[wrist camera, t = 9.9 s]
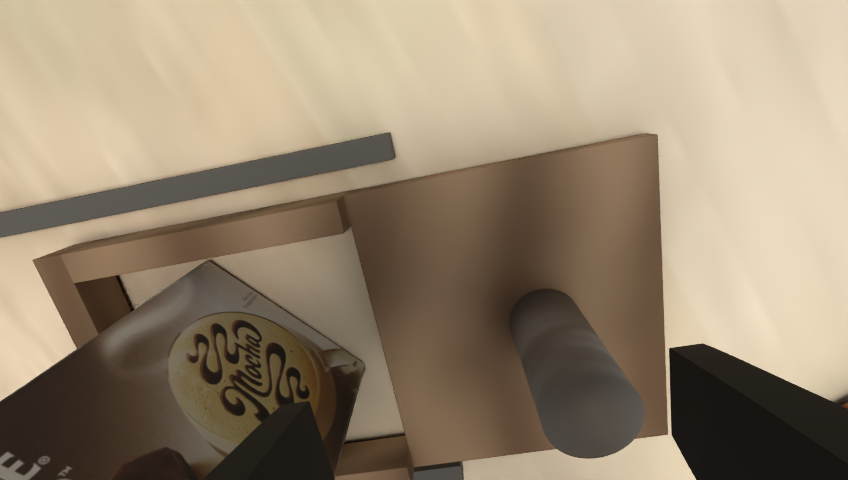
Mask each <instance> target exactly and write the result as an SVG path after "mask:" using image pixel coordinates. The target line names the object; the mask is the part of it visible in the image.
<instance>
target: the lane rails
mask: <svg viewBox="0 0 848 480" xmlns="http://www.w3.org/2000/svg"><path fill="white" fill-rule="evenodd" d="M394 158H395V152H394V148H393V143H392V139H391V134H390V133H385V134H380V135H375V136H370V137H366V138H361V139H356V140H351V141H346V142H341V143H337V144H332V145H327V146H322V147H317V148H312V149H307V150H303V151H298V152H293V153H288V154H283V155H278V156H273V157H269V158H264V159H259V160H254V161H249V162H244V163H239V164H235V165H230V166H225V167H220V168H215V169H210V170H205V171H201V172H196V173H191V174H186V175H181V176H176V177H172V178H167V179H162V180H157V181H152V182H147V183H142V184H138V185H133V186H128V187H123V188H118V189H113V190H108V191H104V192H99V193H94V194H89V195H84V196H79V197H74V198H70V199H65V200H60V201H55V202H50V203H45V204H40V205H36V206H31V207H26V208H21V209H16V210H11V211H7V212H2V213H0V238H1V237H6V236H11V235H16V234H21V233H26V232H31V231H36V230H41V229H46V228H51V227H56V226H61V225H66V224H71V223H76V222H81V221H86V220H91V219H96V218H101V217H106V216H111V215H116V214H121V213H126V212H131V211H136V210H141V209H146V208H151V207H156V206H161V205H166V204H171V203H176V202H181V201H186V200H191V199H196V198H201V197H206V196H211V195H216V194H221V193H226V192H231V191H236V190H242V189H247V188H252V187H257V186H262V185H267V184H272V183H277V182H282V181H287V180H292V179H297V178H302V177H307V176H312V175H317V174H322V173H327V172H332V171H337V170H342V169H347V168H352V167H357V166H362V165H367V164H372V163H377V162H382V161H387V160H392V159H394ZM413 480H464V477H463V466H462V462H461V461H458V462H450V463H443V464H435V465H427V466H419V467H414V472H413Z"/></svg>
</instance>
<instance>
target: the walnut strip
mask: <svg viewBox="0 0 848 480" xmlns="http://www.w3.org/2000/svg"><path fill="white" fill-rule="evenodd" d="M350 225H351V227H352V231H353V235H354V239H355V243H356V247H357V250H358V254H359V258H360V262H361V266H362V270H363V273H364V277H365V281H366V285H367V289H368V293H369V297H370V300H371V304H372V308H373V312H374V316H375V320H376V323H377V327H378V331H379V335H380V339H381V343H382V347H383V350H384V354H385V358H386V362H387V366H388V370H389V374H390V377H391V381H392V385H393V389H394V393H395V397H396V400H397V404H398V408H399V412H400V416H401V420H402V424H403V427H404V431H405V435H406V436H399V437H392V438H385V439H377V440H370V441H363V442H355V443H348V444H343V448H342V451H341V454H340V458H339V461H338V465H337V468H336V472H335V476H334V477H335V480H413V472H414V467H419V466H427V465H435V464H443V463H450V462H458V461H466V460H474V459H481V458H489V457H497V456H505V455H513V454H520V453H528V452H536V451H544V450H551V449H558V450H559V451H561V452H563V453H565V454H567V455H570V456H574V457H578V458H599V457H604V456H608V455H611V454H613V453H616V452H618V451H620V450H621V449H623V448H624V447H626V446H627V445H628V444H630V443H631V442H632V441H633V440H634V439H637V438H645V437H653V436H660V435H668V425H667V396H666V367H665V337H664V308H663V279H662V250H661V221H660V192H659V163H658V135H657V134H649V133H647V134H642V135H636V136H631V137H626V138H621V139H616V140H611V141H606V142H600V143H595V144H590V145H585V146H580V147H575V148H569V149H564V150H559V151H554V152H549V153H544V154H539V155H533V156H528V157H523V158H518V159H513V160H508V161H503V162H497V163H492V164H487V165H482V166H477V167H472V168H467V169H461V170H456V171H451V172H446V173H441V174H436V175H431V176H425V177H420V178H415V179H410V180H405V181H400V182H395V183H389V184H384V185H379V186H374V187H369V188H364V189H359V190H353V191H348V192H343V193H338V194H333V195H328V196H323V197H317V198H312V199H307V200H302V201H297V202H292V203H287V204H281V205H276V206H271V207H266V208H261V209H256V210H251V211H245V212H240V213H235V214H230V215H225V216H220V217H215V218H209V219H204V220H199V221H194V222H189V223H184V224H179V225H173V226H168V227H163V228H158V229H153V230H148V231H142V232H137V233H132V234H127V235H122V236H117V237H112V238H106V239H101V240H96V241H91V242H86V243H81V244H76V245H72V246H69V247H67V248H64V249H61V250H59V251H56V252H53V253H51V254H48V255H45V256H42V257H40V258H37V259H34V260H33V262H34V264H35V266H36V268H37V270H38V272H39V274H40V276H41V278H42V280H43V282H44V284H45V286H46V288H47V290H48V292H49V294H50V296H51V298H52V300H53V302H54V304H55V306H56V308H57V310H58V312H59V314H60V316H61V318H62V320H63V322H64V324H65V326H66V328H67V330H68V332H69V334H70V336H71V338H72V340H73V342H74V344H75V346H76V348H77V349H78V348H80V347H81V346H83V345H84V344H86V343H87V342H89V341H90V340H91V339H93V338H94V337H96V336H97V335H99V334H100V333H101V332H103V331H104V330H106V329H107V328H109V327H110V326H111V325H113V324H114V323H116V322H117V321H119V320H120V319H122V318H123V317H125V316H126V315H128V314H129V313H131V310H130V307H129V305H128V303H127V301H126V298H125V296H124V294H123V292H122V290H121V287H120V285H119V283H118V281H117V278H116V275H121V274H126V273H132V272H137V271H143V270H148V269H153V268H159V267H164V266H170V265H175V264H180V263H186V262H191V261H197V260H202V259H208V258H213V257H218V256H224V255H229V254H235V253H240V252H245V251H251V250H256V249H262V248H267V247H272V246H278V245H283V244H289V243H294V242H299V241H305V240H310V239H316V238H321V237H327V236H332V235H337V234H343V233H345V232H346V231H347V229H348V228H349V227H350Z"/></svg>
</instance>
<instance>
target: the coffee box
mask: <svg viewBox="0 0 848 480" xmlns="http://www.w3.org/2000/svg"><path fill="white" fill-rule="evenodd" d="M364 371H365V365H364V363H363V362H361V361H360V360H358V359H357V358H355V357H354V356H352V355H351V354H349V353H348V352H346V351H345V350H343V349H342V348H340V347H339V346H337V345H336V344H334V343H333V342H331V341H330V340H328V339H327V338H325V337H324V336H322V335H321V334H319V333H318V332H316V331H315V330H313V329H312V328H310V327H308V326H307V325H305V324H304V323H302V322H301V321H299V320H298V319H296V318H295V317H293V316H292V315H290V314H289V313H287V312H286V311H284V310H283V309H281V308H280V307H278V306H277V305H275V304H274V303H272V302H271V301H269V300H267V299H266V298H264V297H263V296H261V295H260V294H258V293H257V292H255V291H254V290H252V289H251V288H249V287H248V286H246V285H245V284H243V283H242V282H240V281H239V280H237V279H236V278H234V277H233V276H231V275H230V274H228V273H227V272H225V271H224V270H222V269H221V268H219V267H218V266H216V265H214V264H213V263H211V262H210V261H206V262H204V263H202V264H201V265H199V266H198V267H196V268H195V269H194V270H192V271H191V272H189V273H188V274H186V275H185V276H183V277H182V278H180V279H179V280H177V281H176V282H174V283H173V284H171V285H170V286H168V287H167V288H166V289H164V290H163V291H162V292H160V293H158V294H157V295H155V296H154V297H152V298H150V299H149V300H148V301H146V302H145V303H143V304H142V305H141V306H139V307H138V308H136V309H135V310H133V311H132V312H131V313H129V314H128V315H126V316H125V317H123V318H122V319H120V320H119V321H117V322H116V323H114V324H113V325H111V326H110V327H109V328H107V329H106V330H104V331H103V332H101V333H100V334H99V335H97V336H96V337H94V338H93V339H91V340H90V341H89V342H87V343H86V344H84V345H83V346H81V347H80V348H78V349H77V350H75V351H73V352H72V353H71V354H69V355H68V356H66V357H65V358H63V359H62V360H60V361H59V362H58V363H56V364H55V365H53V366H52V367H50V368H49V369H47V370H46V371H44V372H43V373H42V374H40V375H39V376H37V377H36V378H34V379H33V380H31V381H30V382H29V383H27V384H26V385H24V386H23V387H21V388H20V389H18V390H17V391H15V392H14V393H12V394H11V395H9V396H8V397H6V398H5V399H3V400H2V401H0V480H203V479H204V478H205V477H206V476H207V475H208V474H209V473H210V472H211V471H212V470H213V469H214V468H215V467H216V466H217V465H218V464H219V463H220V462H221V461H222V460H223V459H224V458H225V457H227V456H228V455H229V454H230V453H231V452H232V451H233V450H234V449H235V448H236V447H237V446H238V445H239V444H240V443H241V442H242V441H243V440H244V439H245V438H246V437H247V436H248V435H249V434H250V433H251V432H252V431H253V430H254V429H256V428H257V427H258V426H259V425H260V424H261V423H262V422H263V421H264V420H265V419H266V418H267V417H268V416H269V415H270V414H272V413H273V412H274V411H275V410H276V409H277V408H279V407H280V406H281V405H284V404H291V403H298V402H305V401H310V404H311V407H312V410H313V413H314V416H315V419H316V422H317V425H318V428H319V431H320V434H321V437H322V440H323V443H324V446H325V449H326V453H327V456H328V459H329V462H330V465H331V468H332V471H333V474H334V476H335V472H336V468H337V465H338V461H339V458H340V454H341V451H342V448H343V444H344V441H345V437H346V434H347V430H348V426H349V422H350V419H351V415H352V412H353V408H354V404H355V401H356V397H357V393H358V390H359V386H360V383H361V379H362V376H363V374H364Z"/></svg>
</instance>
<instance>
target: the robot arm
mask: <svg viewBox="0 0 848 480" xmlns="http://www.w3.org/2000/svg"><path fill="white" fill-rule="evenodd" d="M669 357H670V392H671V428H672V436H673V438H674V440H675V442H676V444H677V445H678V447H679V449H680V451H681V453H682V455H683V457H684V458H685V460H686V462H687V464H688V466H689V467H690V469H691V471H692V473H693V474H694V476H695V478H696V480H848V408H846V407H843V406H841V405H839V404H836V403H834V402H832V401H830V400H828V399H825V398H823V397H821V396H819V395H816V394H814V393H812V392H810V391H808V390H805V389H803V388H801V387H799V386H797V385H795V384H792V383H790V382H788V381H786V380H784V379H781V378H779V377H777V376H775V375H773V374H771V373H768V372H766V371H764V370H762V369H760V368H758V367H755V366H753V365H751V364H749V363H747V362H745V361H742V360H740V359H738V358H736V357H734V356H731V355H729V354H727V353H725V352H722V351H720V350H718V349H715V348H713V347H710V346H708V345H705V344H696V345H689V346H682V347H675V348H669ZM203 480H335V477H334V474H333V471H332V468H331V465H330V462H329V459H328V456H327V453H326V449H325V446H324V443H323V440H322V437H321V434H320V431H319V428H318V425H317V422H316V419H315V416H314V413H313V410H312V407H311V404H310V401H305V402H298V403H291V404H284V405H281V406H280V407H279V408H277V409H276V410H275V411H274V412H273V413H272V414H270V415H269V416H268V417H267V418H266V419H265V420H264V421H263V422H262V423H261V424H260V425H259V426H258V427H257V428H256V429H254V430H253V431H252V432H251V433H250V434H249V435H248V436H247V437H246V438H245V439H244V440H243V441H242V442H241V443H240V444H239V445H238V446H237V447H236V448H235V449H234V450H233V451H232V452H231V453H230V454H229V455H228V456H227V457H225V458H224V459H223V460H222V461H221V462H220V463H219V464H218V465H217V466H216V467H215V468H214V469H213V470H212V471H211V472H210V473H209V474H208V475H207V476H206V477H205V478H204V479H203Z"/></svg>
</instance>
